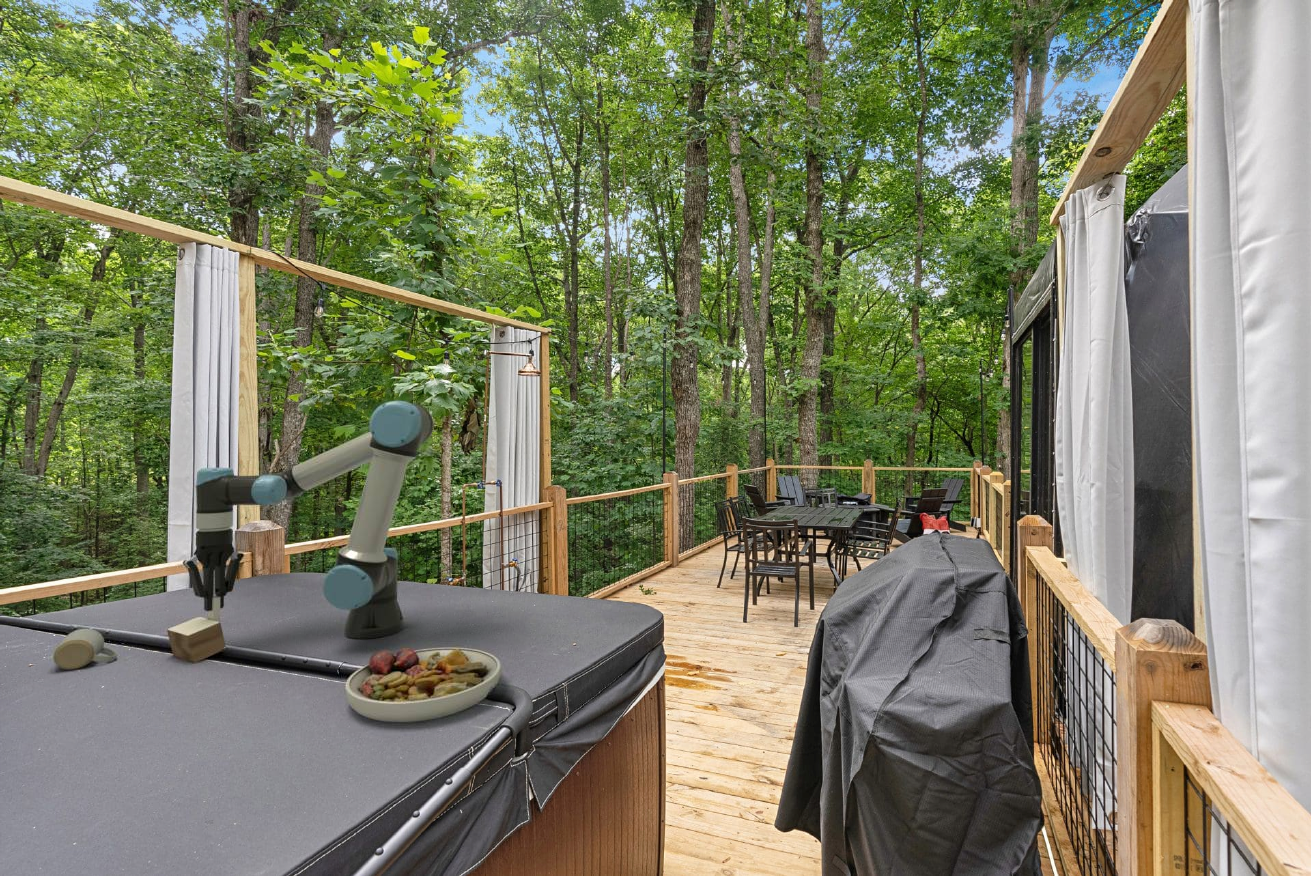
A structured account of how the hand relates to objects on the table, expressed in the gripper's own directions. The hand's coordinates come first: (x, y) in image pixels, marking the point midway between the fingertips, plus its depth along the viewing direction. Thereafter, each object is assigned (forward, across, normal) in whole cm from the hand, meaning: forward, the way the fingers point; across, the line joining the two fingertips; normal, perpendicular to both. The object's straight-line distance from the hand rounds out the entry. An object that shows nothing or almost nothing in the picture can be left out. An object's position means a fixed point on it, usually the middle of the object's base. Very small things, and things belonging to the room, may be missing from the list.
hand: (213, 622), depth 150 cm
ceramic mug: (+8, +19, -17) cm, 26 cm away
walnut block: (+7, +3, 0) cm, 7 cm away
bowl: (+8, -7, +68) cm, 69 cm away
